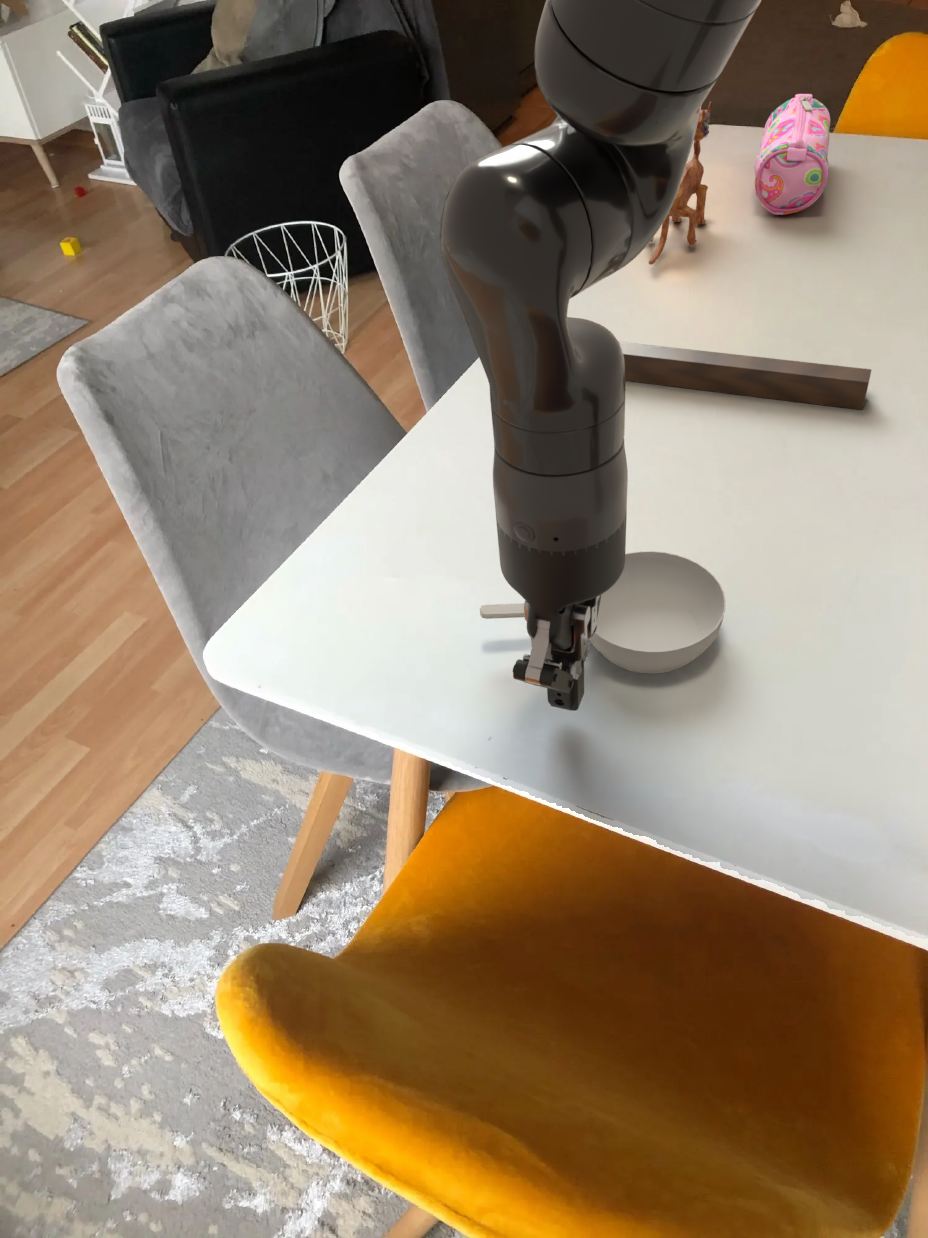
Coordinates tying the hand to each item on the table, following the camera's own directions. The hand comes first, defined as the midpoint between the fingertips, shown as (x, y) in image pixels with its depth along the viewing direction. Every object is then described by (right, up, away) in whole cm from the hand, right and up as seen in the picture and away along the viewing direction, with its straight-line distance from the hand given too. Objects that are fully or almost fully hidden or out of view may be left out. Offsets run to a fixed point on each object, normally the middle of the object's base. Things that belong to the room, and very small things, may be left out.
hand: (566, 700), depth 67 cm
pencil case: (+37, +64, +62) cm, 96 cm away
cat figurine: (+19, +53, +54) cm, 78 cm away
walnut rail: (+17, +29, +30) cm, 45 cm away
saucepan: (+3, +4, +6) cm, 8 cm away
